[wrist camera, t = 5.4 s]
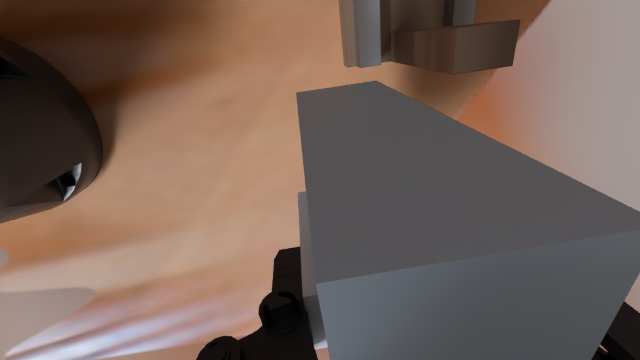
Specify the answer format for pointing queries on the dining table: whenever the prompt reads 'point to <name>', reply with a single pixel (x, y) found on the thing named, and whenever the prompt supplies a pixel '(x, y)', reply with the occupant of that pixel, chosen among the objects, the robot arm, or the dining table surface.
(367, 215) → the grey square slab
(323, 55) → the dining table surface
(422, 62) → the grey u-shaped frame
